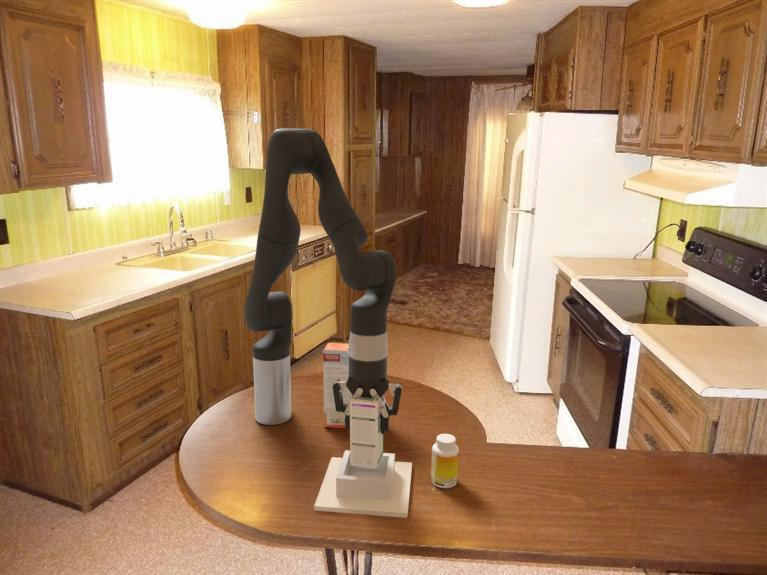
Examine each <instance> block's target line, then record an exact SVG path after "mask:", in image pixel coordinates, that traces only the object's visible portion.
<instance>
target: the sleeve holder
mask: <svg viewBox="0 0 767 575" xmlns="http://www.w3.org/2000/svg"><path fill="white" fill-rule="evenodd" d="M412 469H413V462H410V461H409V462H406V461H396V454H395V453H389V452H383V456H382V459H381V461H380V463H379V465H378V468H377V469H371V468H363V467H356V466H351V465H350V449H349V450H344V452H343V454H342V457H335V456H331V459H330V461H329V464H328V467H327V469H326V473H325V475H324V478H323V481H322V483H321V486H320V489H319V492H318V494H317V497H316V501H315V503H314V505H313V507H314V508H313V509H314V510H313V511H314V512H315V511H316V512H331V513H341V514H343V513H344V514H353V515H364V516H365V515H367V516H368V515H369V516H379V517H380V516H381V517H392V518H393V517H394V518H403V519H404V518H405V519H408V515H409V503H410V493H411V481H412Z"/></svg>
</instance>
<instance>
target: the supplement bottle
mask: <svg viewBox="0 0 767 575" xmlns="http://www.w3.org/2000/svg"><path fill="white" fill-rule="evenodd" d="M456 442H457V439H456V437H455V436H454V435H453V434H450V433H441V434H438V435H437V436H436V440H435V443H434V444H433V445H432V449H431V466H430V467H431V470H430V471H431V472H430V481H431V483H432V484H433V485H434V486H435V487H438V488H439V489H440V488H441V489H450V488H453V487H455V486H456V485H457V483H458V477H459V476H458V474H459V473H458V472H459V457H460V456H459V455H460V449H459V446H458V445H457V443H456Z"/></svg>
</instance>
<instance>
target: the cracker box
mask: <svg viewBox="0 0 767 575" xmlns="http://www.w3.org/2000/svg"><path fill="white" fill-rule="evenodd" d="M348 348H349V343H341V342H340V343H339V342H328V343H327V344H326V346H325V347H324V348H323V349H322V356H323V357H322V358H323V359H322V363H323V364H322V365H323V366H322V367H323V368H322V372H323V374H322V376H323V378H322V379H323V386H322V387H323V391H322V392H323V427H324V428H333V429H346V427H345V414H344V413H343V412H341V411H340V412H337V411H336V408H335V401H334V394H333V384H334V382H335V380H337V379H339V380H340V381H347V379H348V378H349V353H348ZM342 395H343V403H344V404H347V405H348V403H349V401H350V399H351V397H352V394H351V392H350V391H349V390H348V388H347V387H345V388H344V391H343V392H342ZM346 430H347V429H346Z"/></svg>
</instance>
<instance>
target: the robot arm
mask: <svg viewBox="0 0 767 575" xmlns="http://www.w3.org/2000/svg"><path fill="white" fill-rule="evenodd" d="M265 160H266V161H265V176H264V177H265V180H264V181H265V182H264V193H263V194H264V196H263V202H262V203H263V204H262V208H261V209H262V210H261V215H260V221H259V226H258V232H257V237H256V238H257V240H256V247H255V255H254V256H255V257H254V264H253V269H252V275H251V279H250V282H249V285H248V286H249V287H248V290H247V294H246V298H245V301H244V310H243V311H244V312H243V313H244V315H243V317H244V322H245V325H246V327H247V328H248V329H249V331H251V332H255V333H256V332H266V331H269V332H268V333H267V334H266V335H265V336H263V337H262V338H260V339H258V340H257V341H255V343H254V344H253V346H252V367H253V369H252V370H253V371H252V372H253V390H254V391H253V392H254V393H253V395H254V418H255V421H256V422H257V423H259V424H262V425H267V426H274V425H280V424H283V423H287V422H288V421H289V420H290V419H291V418H292V395H291V394H292V393H291V389H292V386H291V382H292V381H291V345H292V331H293V330H292V326H293V306H292V302H291V299H290V297H289V295H288V294H287V293H286V292H284V291H281V290H280V291H271V289H272V287H273V286H274V284H275V282H276V281H277V280H278V279H279V277H281V276H282V274H283V273H284V272H285V271H286V270H287V268H289V266H291V264H292V262H293V261H294V259H295V257H296V255H297V251H298V247H299V243H300V237H301V231H302V230H301V224H300V222H299V219H298V215H297V214H296V213H295V210H294V208H293V206H292V204H291V202H290V199H289V184H290V183H289V182H290V178H291V176H292V175H306V174H310V175H311V176H312V177H313V179H314V180H315V181H316V183H317V185H318V188H319V193H318V194H319V196H318V197H319V198H318V203H317V204H318V205H317V212H318V213H317V214H318V218H319V221H320V222H319V223H320V224H321V226H322V228H323V230H324V232H325V234H326V235H327V237H328V238H329V240H330V242H331V244H332V245H333V248H334V252H335V256H336V259H337V262H338V263H337V264H338V268H339V273H340V276H341V279H342V280H343V282H344V283H345V285H346V286H347V287H348V288H349V289H351V290H353V291H357V292H361V291H365V293H364V295H362V297H360V298H358V299H357V300H354V302H353V303H352V304H351V306H350V319H349V320H350V321H349V324H350V325H349V329H350V332H349V339H348V344H349V348H348V353H349V378H348V379H347V381H340V380H339V379H337V380H335V382H334V384H333V394H334V401H335V408H336V411H337V412H340V411H341V412H343V413H344V414H345V427H346V430H347V431H348V433H350V401H349V403H348V405H347V404H344V403H343V395H342V392H343V391H344V388H345V387H347V388H348V390H349V391H350V392H351V394H352V397H351V399H357V398H360V397H371V398H373V399H375V400H379V408H380V411H381V413H382V422H381V434H383V435H385V434H386V432H388V431H389V428H390V417H392V416H397V415H398V413H399V409H400V408H399V406H400V400H401V395H402V392H403V391H402V390H403V384H402V383H401V382H397V383H396V384H395V383H390V381H389V380H388V377H387V376H388V334H387V332H388V331H387V326H388V325H387V322H388V321H387V320H388V316H387V313H388V309H389V305H390V302H391V299H392V295H393V292H394V289H395V285H396V280H397V274H398V273H397V264H396V261H395V258H394V257H393V256H392V254H391V253H390V252H389V251H386V250H382V249H377V250H371V251H363V252H361V250H360V248H362V247H363V246H364V245H365V244H366V242H368V241H367V240H368V237H369V236H368V231H367V229H366V227H365V225H364V223H363V222H362V220H361V219H360V217H359V216H358V214H357V212H356V210H355V209H354V207H353V205H352V204H351V202H350V201H349V198H348V197H347V195H346V192H345V191H344V187H343V185H342V183H341V179H340V177H339V175H338V172H337V169H336V167H335V164H334V163H333V159H332V157H331V154H330V153H329V149H328V147H327V145H326V143H325V141H324V139H323V138H322V136H321V134H320V133H318V132H317V130H314V129H311V128H277V129H275V130H273V131H272V133H271V135H270V137H269V139H268V142H267V150H266V159H265ZM388 390H389V391H390V394H391V396H393V401H392V402H393V403H392V406H389V404H388V403H387V401H386V397H385V393H386V392H387V391H388ZM381 397H382V400H381ZM351 399H350V400H351Z"/></svg>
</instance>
